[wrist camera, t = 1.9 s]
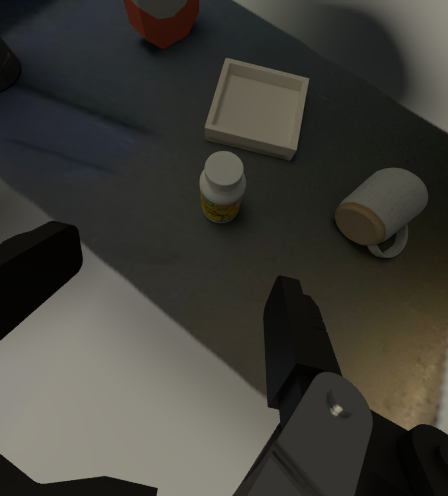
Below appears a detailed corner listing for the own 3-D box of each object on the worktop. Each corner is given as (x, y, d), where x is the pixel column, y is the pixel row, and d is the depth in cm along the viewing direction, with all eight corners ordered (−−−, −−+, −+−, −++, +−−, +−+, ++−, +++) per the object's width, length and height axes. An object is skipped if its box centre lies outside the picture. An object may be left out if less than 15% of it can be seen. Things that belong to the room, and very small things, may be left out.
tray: (205, 139, 34) (204, 127, 32) (224, 73, 37) (225, 57, 35) (290, 160, 34) (296, 150, 32) (302, 92, 38) (308, 78, 35)
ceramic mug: (321, 216, 33) (355, 193, 25) (357, 185, 34) (399, 154, 27) (373, 272, 31) (425, 264, 24) (408, 237, 33) (467, 219, 25)
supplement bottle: (244, 199, 32) (259, 157, 23) (229, 230, 31) (238, 200, 22) (211, 184, 33) (212, 137, 23) (194, 214, 31) (189, 178, 22)
